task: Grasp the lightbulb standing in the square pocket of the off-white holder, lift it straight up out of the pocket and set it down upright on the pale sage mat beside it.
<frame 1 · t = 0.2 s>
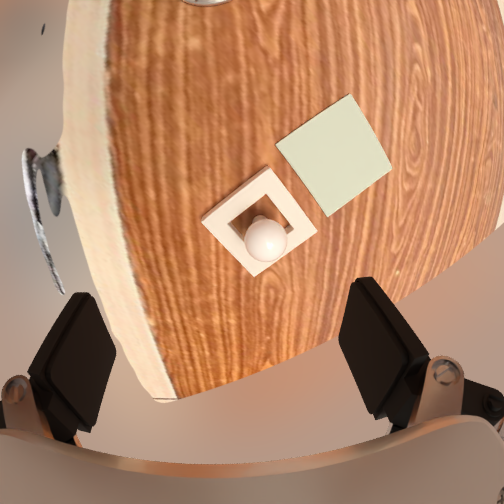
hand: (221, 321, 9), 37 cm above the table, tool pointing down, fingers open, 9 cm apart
sage mat: (339, 155, 43), on the table
pocket holder: (259, 220, 47), on the table
lightbulb: (259, 220, 47), resting in pocket holder
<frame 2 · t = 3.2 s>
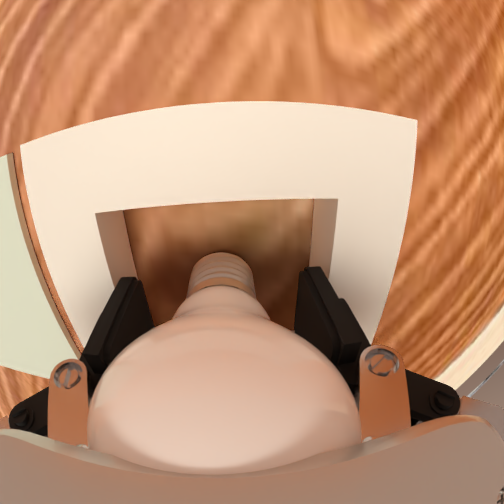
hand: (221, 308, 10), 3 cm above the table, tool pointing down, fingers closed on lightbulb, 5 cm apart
pocket holder: (221, 272, 12), on the table
lightbulb: (221, 269, 12), resting in pocket holder, touching gripper
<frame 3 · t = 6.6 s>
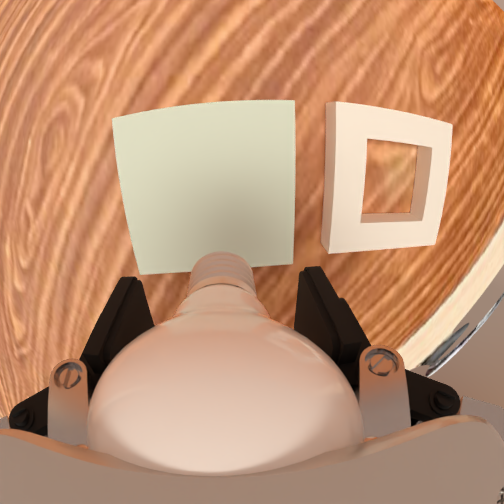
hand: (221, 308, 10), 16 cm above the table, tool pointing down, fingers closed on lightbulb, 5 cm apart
sage mat: (206, 191, 24), on the table
pocket holder: (386, 177, 25), on the table
lightbulb: (222, 268, 12), point 13 cm above the table, touching gripper
when the fingers open (4 cm above the table, at t = 9.9 s): lightbulb drops 1 cm, resting on sage mat.
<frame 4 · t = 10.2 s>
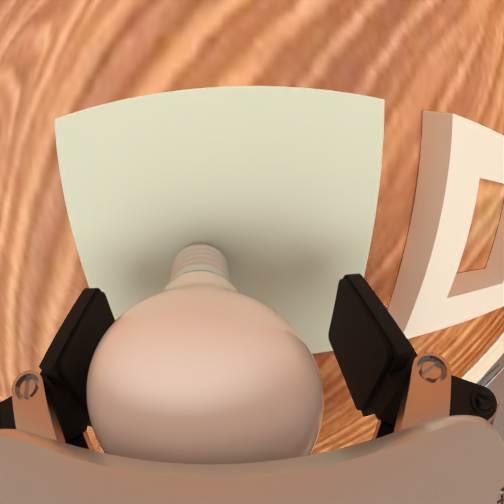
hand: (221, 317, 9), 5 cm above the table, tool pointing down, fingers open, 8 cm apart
sage mat: (222, 251, 14), on the table
pocket holder: (474, 226, 15), on the table
lightbulb: (200, 260, 14), resting on sage mat
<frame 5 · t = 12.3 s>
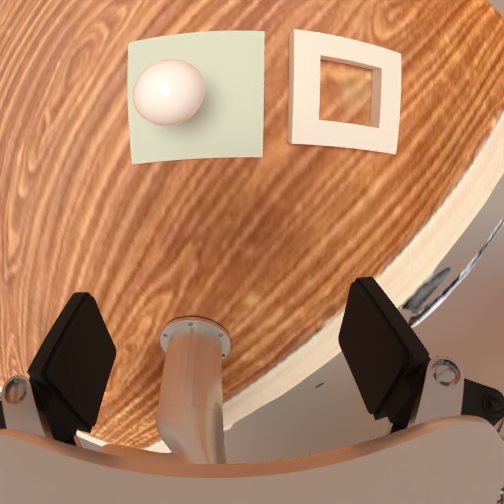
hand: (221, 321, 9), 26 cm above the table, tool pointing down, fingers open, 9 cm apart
sage mat: (193, 93, 27), on the table
pocket holder: (343, 92, 28), on the table
lightbulb: (183, 96, 27), resting on sage mat
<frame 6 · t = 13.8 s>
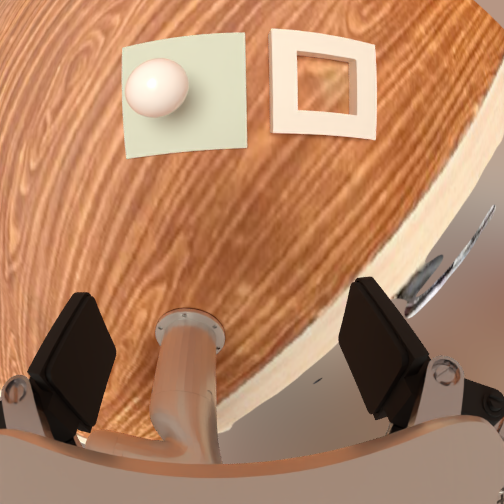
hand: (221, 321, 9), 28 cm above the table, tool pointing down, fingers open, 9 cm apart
sage mat: (182, 92, 29), on the table
pocket holder: (321, 84, 30), on the table
lightbulb: (172, 94, 29), resting on sage mat
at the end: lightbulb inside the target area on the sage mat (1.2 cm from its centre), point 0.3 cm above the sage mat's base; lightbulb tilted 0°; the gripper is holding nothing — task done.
